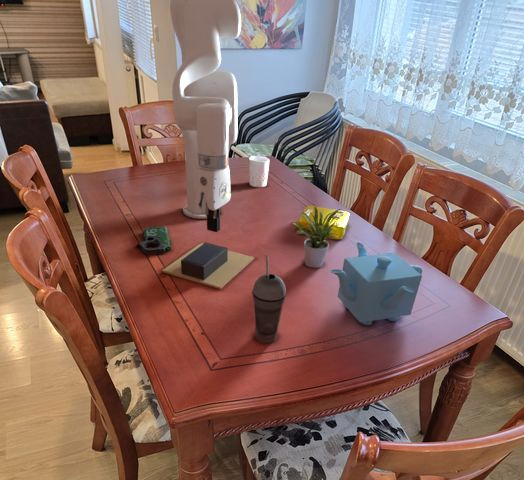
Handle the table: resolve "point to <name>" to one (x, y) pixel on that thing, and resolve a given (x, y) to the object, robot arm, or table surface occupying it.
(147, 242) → the gun
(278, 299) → the beverage cup
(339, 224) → the yellow package
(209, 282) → the cork mat
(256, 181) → the white cup
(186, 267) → the black device
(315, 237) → the house plant
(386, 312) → the teakettle
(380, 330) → the table surface
